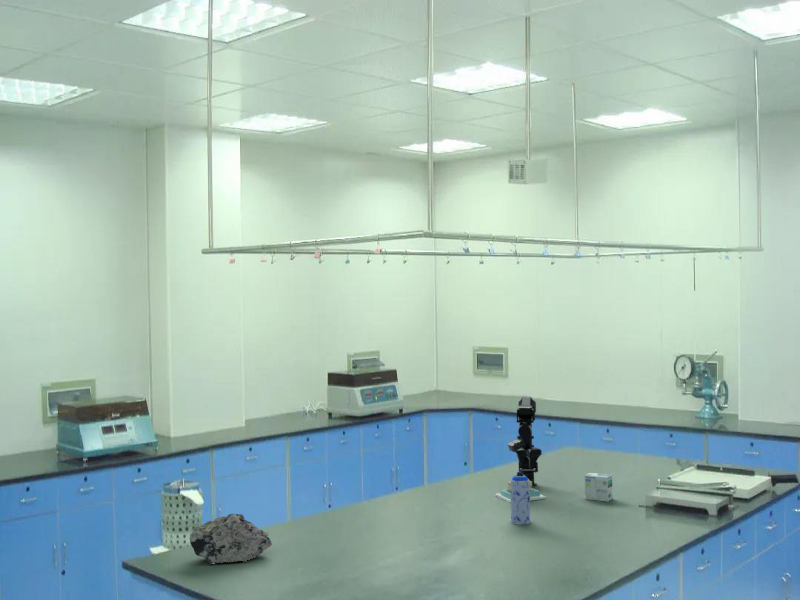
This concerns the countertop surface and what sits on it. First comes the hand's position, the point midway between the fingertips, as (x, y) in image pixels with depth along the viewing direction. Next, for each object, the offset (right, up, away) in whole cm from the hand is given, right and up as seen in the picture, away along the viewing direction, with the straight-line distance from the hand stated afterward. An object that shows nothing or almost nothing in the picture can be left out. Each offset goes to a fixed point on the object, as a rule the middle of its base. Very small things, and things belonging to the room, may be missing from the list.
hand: (526, 467), depth 382 cm
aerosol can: (-10, -12, -49) cm, 52 cm away
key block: (-4, -11, -8) cm, 14 cm away
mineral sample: (-117, -14, -90) cm, 148 cm away
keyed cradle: (-4, -12, -8) cm, 15 cm away
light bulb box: (+30, -11, -14) cm, 35 cm away
